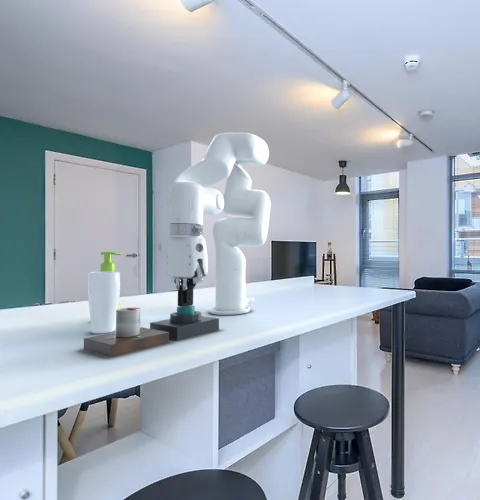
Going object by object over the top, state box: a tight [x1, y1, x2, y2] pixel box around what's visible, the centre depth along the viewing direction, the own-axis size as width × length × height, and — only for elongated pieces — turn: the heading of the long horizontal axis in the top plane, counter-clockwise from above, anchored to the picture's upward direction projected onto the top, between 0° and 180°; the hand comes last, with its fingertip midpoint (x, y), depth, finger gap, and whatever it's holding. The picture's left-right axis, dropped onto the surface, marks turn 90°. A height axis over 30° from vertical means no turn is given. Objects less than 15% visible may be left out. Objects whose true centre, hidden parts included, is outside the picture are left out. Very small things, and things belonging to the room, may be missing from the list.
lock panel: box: [83, 326, 170, 358], centre depth 74 cm, size 12×10×3 cm
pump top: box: [176, 305, 196, 315], centre depth 87 cm, size 4×4×2 cm
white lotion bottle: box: [86, 271, 121, 335], centre depth 88 cm, size 7×7×15 cm
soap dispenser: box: [100, 251, 123, 309], centre depth 101 cm, size 6×7×20 cm
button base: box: [149, 310, 220, 342], centre depth 87 cm, size 12×10×5 cm
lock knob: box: [115, 307, 141, 337], centre depth 74 cm, size 4×4×6 cm
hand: (185, 305), depth 87 cm, fingers closed
